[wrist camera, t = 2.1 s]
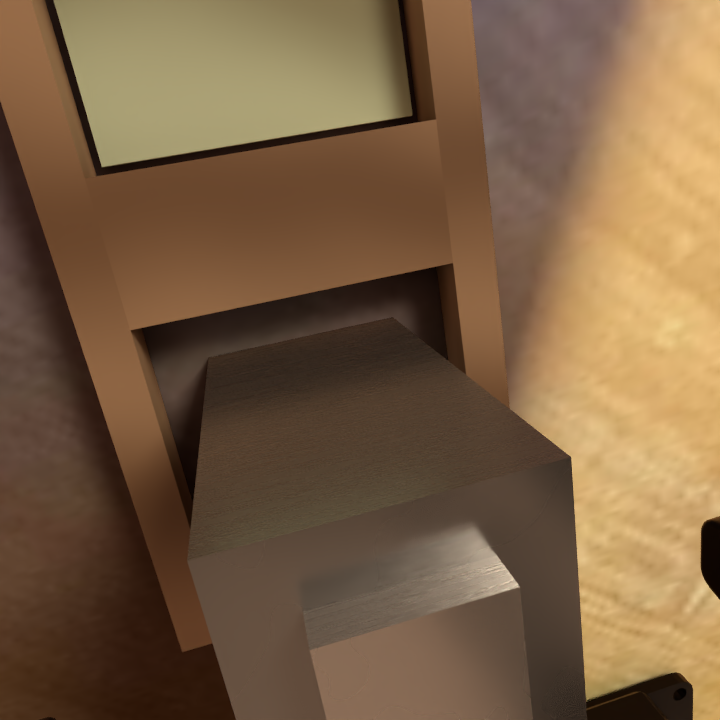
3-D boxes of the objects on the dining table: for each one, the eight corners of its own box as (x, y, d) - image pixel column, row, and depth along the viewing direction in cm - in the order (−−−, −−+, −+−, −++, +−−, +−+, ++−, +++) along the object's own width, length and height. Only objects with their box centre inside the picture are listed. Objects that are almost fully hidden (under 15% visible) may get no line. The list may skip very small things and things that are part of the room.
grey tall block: (417, 477, 16) (614, 778, 8) (251, 521, 15) (278, 900, 7) (392, 317, 14) (601, 481, 6) (208, 357, 14) (183, 597, 6)
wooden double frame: (503, 527, 17) (523, 552, 16) (185, 618, 16) (182, 651, 14) (411, -341, 11) (432, -401, 10) (-116, -320, 10) (-160, -385, 8)
